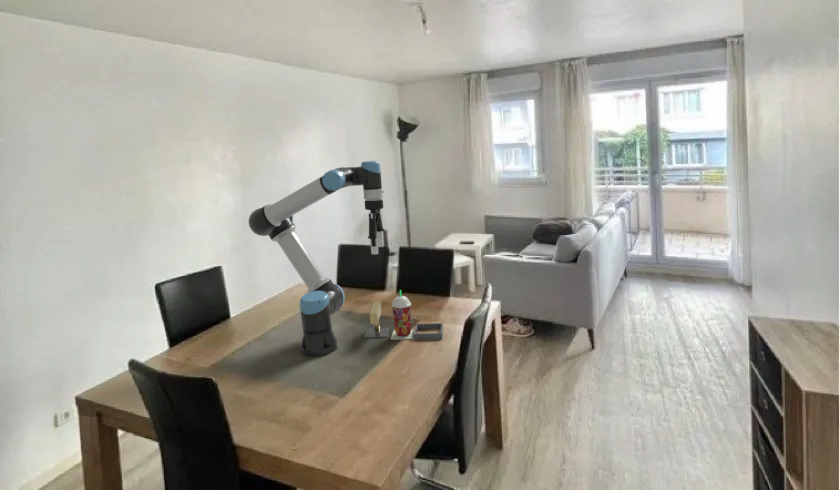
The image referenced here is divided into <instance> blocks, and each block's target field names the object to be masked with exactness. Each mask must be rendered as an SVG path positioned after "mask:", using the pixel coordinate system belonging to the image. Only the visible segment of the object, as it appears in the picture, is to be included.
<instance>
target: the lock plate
mask: <svg viewBox="0 0 840 490" xmlns="http://www.w3.org/2000/svg"><path fill="white" fill-rule="evenodd" d="M390 330H391V327H380V331H379V332H375V331H374V327H371V328H367V330H366V333H365V335H364V337H363V339H383V338H384V339H385V338H386V339H387V338H388V336H389V333H390Z"/></svg>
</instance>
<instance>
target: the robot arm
mask: <svg viewBox="0 0 840 490" xmlns="http://www.w3.org/2000/svg"><path fill="white" fill-rule="evenodd" d="M352 186H354V187H355V186H362V189H363V198H364V202H363V203H364V209H365V210H366V211H370V212H369V213H368V236H367V239H368V240H369V242H370V243H369V244H370V251H371V255H379V248H384V237H383V235H384V234H383V232H385V229H384V227H383V221H382V214H381V210H382V209H383V208H384V200H383V194H384V190H382V186H383V185H382V171H381V164H380V161H378V160H366V161H362V162H361V164H360V166H355V167H353V166H350V167H349V166H348V167H344V166H343V167H336V168H334V169H330V170H328V171H327V172H325V173H324V174H323V175H322V176H320V177H317V178H316V179H314V180H313V181H311V182H310V183H308V184H306V185H305V186H302V187H300V188H299V189H297V190H295V191H294V192H292V193H290V194H288V195H287V196H285V197H283V198H282V199H280V200H278V201H276V202H275V203H273V204H268V203H267V204H266V205H264V206H262V207H259V208H257V209H255V210H253V211H252V212H251V213H250V215H249V216H248V227H249V228H250V230H251V231H252V232H253V233H254V234H255V235H258V236H261V237H267V236H268V237H269V238H270V240H271V241H272V242H274V243H275V242H276V243H277V244H278V245H279V247H280V248H281V250H282V251H283V252H284V255H285V256H286V257H287V259H288V260H289V262H290V263H291V265H292V266H293V268H294V269H295V271H296V272H297V274H298V275H299V276H300V278H301V280H302V281H303V283H304V284H305V286H306V288H307V293H305V294H303V295H302V296H301V297H300V300H299V310H300V318H301V326H302V327H301V328H302V337H301V342H300V353H301V354H303V355H304V356H308V357H319V356H325V355H328V354H330V353H333V352H335V351H336V350H337V349H338V347H339V346H338V344H339V343H338V339H337V337H336V335H335V333H334V331H333V328H332V319H331V317H332V316H333V315H334V314H335V313H336V312H338V311H339V310H340V309H341V308H342V306H343V305H344V303H345V297H346V295H345V292H344V290H343V288H342V287H341V286H340V285H338V284H336V283H334V282H333V281H332V279H331V278H330V277H329V278H328V277H326V276H325V275H324V274H323V271H322V270H321V269H320V268H319V266H318V265H317V263H316V262H315V260H314V259H313V256H312V255H311V254H310V253H309V251H308V250H307V248H306V247H305V245H304V243H303V242H302V241H301V239H300V237H299V236H298V234H297V233H296V232H295V231H296V230H295V229H296V224H295V223H294V222H293V220H294V219H293V218H294V215H296V214H297V213H300V212H301V211H303V210H304V209H306V208H308V207H310V206H312V205H313V204H316V203H317V202H319V201H321V200H322V199H325V198H326V197H328V196H329V195H331V194H333V193H335V192H337V191H339V190H341V189H343V188H348V187H352Z"/></svg>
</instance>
